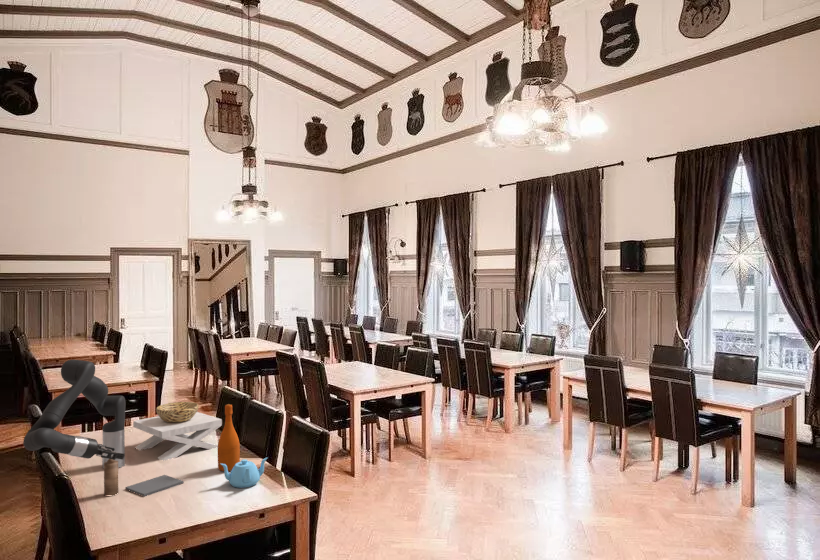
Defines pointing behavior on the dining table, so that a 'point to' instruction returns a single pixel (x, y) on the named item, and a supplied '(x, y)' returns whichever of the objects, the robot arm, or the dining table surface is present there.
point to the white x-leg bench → (178, 428)
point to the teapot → (244, 473)
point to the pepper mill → (111, 477)
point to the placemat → (154, 485)
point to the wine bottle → (228, 443)
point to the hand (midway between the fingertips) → (118, 453)
